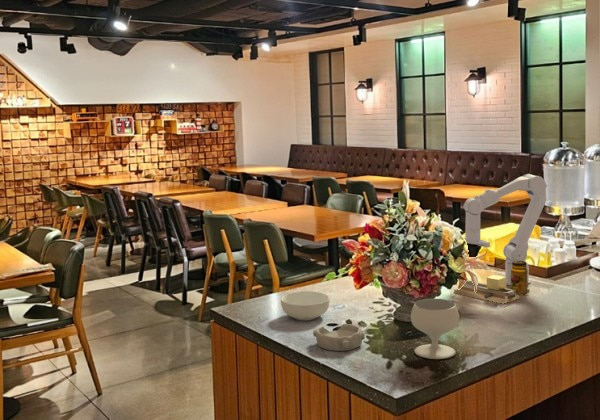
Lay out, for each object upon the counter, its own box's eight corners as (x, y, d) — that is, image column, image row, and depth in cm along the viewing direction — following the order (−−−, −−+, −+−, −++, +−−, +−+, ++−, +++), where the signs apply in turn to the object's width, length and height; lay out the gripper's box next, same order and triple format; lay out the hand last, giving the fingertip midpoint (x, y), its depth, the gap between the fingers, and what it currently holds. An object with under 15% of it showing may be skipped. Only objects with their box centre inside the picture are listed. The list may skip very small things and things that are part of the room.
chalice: (401, 349, 213) (401, 301, 210) (440, 341, 219) (440, 294, 216) (429, 364, 200) (429, 313, 198) (468, 356, 206) (469, 306, 204)
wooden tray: (471, 287, 279) (471, 278, 279) (520, 298, 263) (520, 288, 262) (452, 293, 272) (452, 284, 271) (502, 304, 255) (502, 295, 255)
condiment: (508, 294, 268) (509, 263, 266) (510, 288, 276) (510, 258, 274) (528, 295, 266) (529, 264, 264) (529, 289, 274) (530, 259, 272)
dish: (308, 344, 221) (307, 328, 220) (342, 334, 229) (342, 319, 228) (336, 357, 209) (336, 340, 208) (372, 346, 217) (372, 330, 216)
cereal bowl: (274, 322, 243) (273, 302, 242) (291, 308, 258) (290, 289, 257) (321, 326, 237) (320, 306, 236) (335, 312, 253) (335, 292, 251)
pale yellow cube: (494, 288, 267) (494, 275, 266) (505, 291, 263) (506, 277, 262) (486, 291, 264) (486, 277, 263) (498, 293, 260) (498, 279, 259)
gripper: (451, 228, 281) (451, 261, 283) (482, 232, 270) (482, 267, 272) (462, 225, 285) (462, 258, 287) (493, 230, 274) (492, 264, 276)
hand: (472, 262), depth 280 cm, fingers closed
